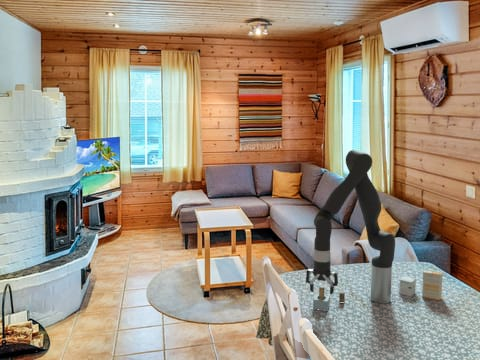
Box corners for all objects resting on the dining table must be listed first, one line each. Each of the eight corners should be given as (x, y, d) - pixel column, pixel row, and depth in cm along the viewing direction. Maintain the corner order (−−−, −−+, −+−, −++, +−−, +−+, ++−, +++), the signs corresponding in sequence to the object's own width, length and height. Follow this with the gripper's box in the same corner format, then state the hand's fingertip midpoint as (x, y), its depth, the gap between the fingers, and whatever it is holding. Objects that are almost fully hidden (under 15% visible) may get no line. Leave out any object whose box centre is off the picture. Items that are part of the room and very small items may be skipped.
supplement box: (441, 297, 214) (443, 271, 212) (440, 301, 210) (441, 274, 208) (423, 294, 218) (424, 268, 216) (421, 297, 214) (422, 271, 212)
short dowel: (339, 301, 211) (339, 292, 211) (344, 301, 211) (344, 292, 210) (338, 303, 209) (339, 294, 208) (344, 303, 208) (344, 294, 208)
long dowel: (319, 306, 206) (319, 285, 204) (324, 307, 205) (324, 286, 203) (318, 308, 204) (318, 287, 202) (323, 309, 203) (324, 288, 201)
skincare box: (398, 293, 219) (399, 279, 218) (403, 289, 224) (403, 275, 222) (411, 296, 215) (411, 282, 214) (415, 292, 220) (416, 278, 219)
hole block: (315, 304, 208) (315, 293, 208) (329, 306, 206) (329, 295, 205) (313, 309, 202) (313, 299, 202) (327, 311, 200) (327, 301, 199)
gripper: (339, 257, 202) (338, 291, 204) (308, 254, 207) (307, 287, 209) (336, 263, 195) (336, 298, 197) (304, 259, 200) (304, 293, 202)
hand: (321, 292), depth 203 cm, fingers open, 8 cm apart
